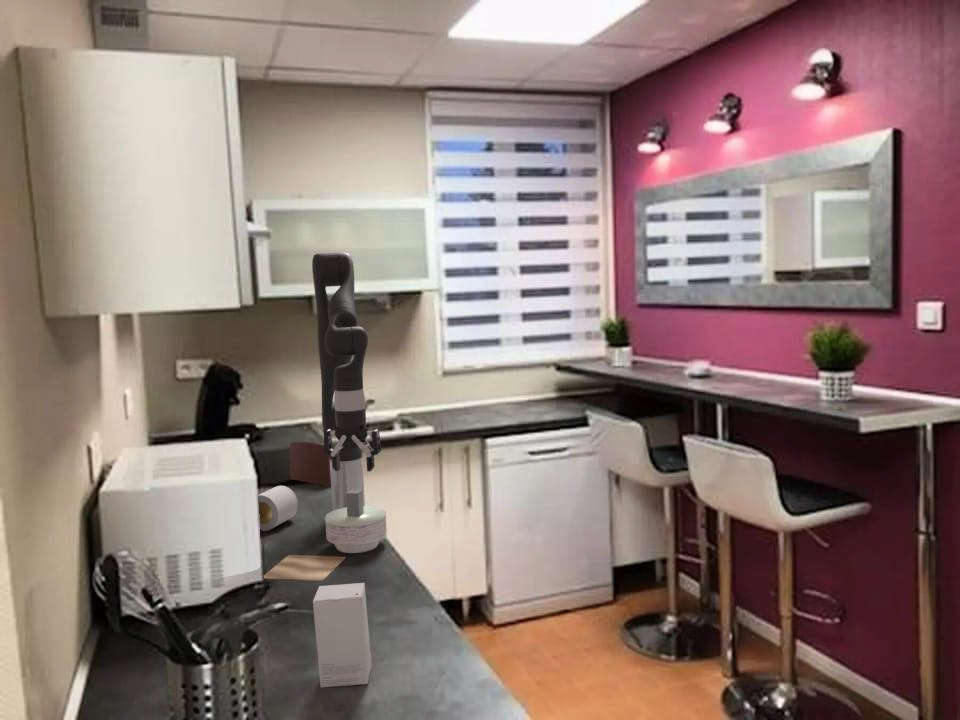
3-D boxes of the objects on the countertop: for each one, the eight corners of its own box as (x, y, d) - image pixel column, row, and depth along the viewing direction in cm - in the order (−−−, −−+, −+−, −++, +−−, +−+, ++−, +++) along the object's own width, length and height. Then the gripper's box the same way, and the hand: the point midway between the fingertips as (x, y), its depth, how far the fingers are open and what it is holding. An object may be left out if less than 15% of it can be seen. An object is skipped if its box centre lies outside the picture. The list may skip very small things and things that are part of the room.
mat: (288, 556, 195) (288, 554, 195) (346, 558, 192) (346, 556, 192) (260, 580, 180) (260, 577, 180) (322, 582, 177) (322, 580, 177)
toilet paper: (279, 532, 215) (276, 496, 214) (248, 529, 218) (245, 494, 217) (299, 520, 225) (296, 486, 223) (268, 518, 228) (266, 484, 227)
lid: (337, 508, 208) (336, 483, 207) (393, 509, 205) (392, 483, 204) (315, 526, 193) (314, 499, 192) (375, 528, 190) (373, 500, 190)
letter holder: (330, 487, 260) (328, 445, 259) (290, 480, 272) (287, 440, 270) (352, 480, 269) (349, 439, 267) (311, 473, 280) (309, 434, 278)
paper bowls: (392, 537, 207) (391, 508, 206) (380, 558, 192) (378, 527, 191) (336, 538, 208) (334, 508, 207) (319, 558, 193) (317, 527, 192)
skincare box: (372, 667, 138) (367, 581, 136) (368, 686, 131) (363, 597, 130) (324, 669, 138) (318, 583, 136) (317, 689, 131) (312, 599, 129)
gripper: (382, 404, 198) (385, 467, 200) (328, 404, 201) (332, 466, 203) (372, 410, 191) (376, 475, 193) (317, 409, 194) (321, 474, 195)
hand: (353, 470), depth 198 cm, fingers open, 8 cm apart
